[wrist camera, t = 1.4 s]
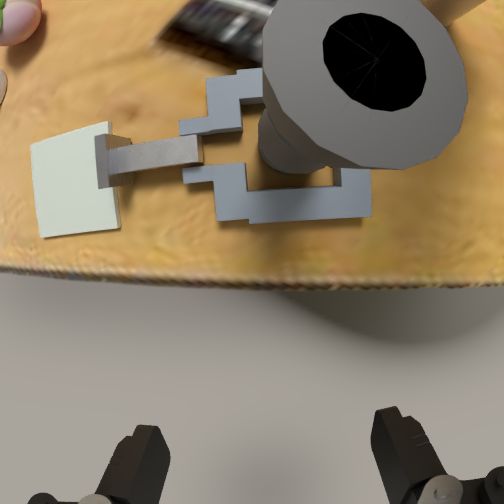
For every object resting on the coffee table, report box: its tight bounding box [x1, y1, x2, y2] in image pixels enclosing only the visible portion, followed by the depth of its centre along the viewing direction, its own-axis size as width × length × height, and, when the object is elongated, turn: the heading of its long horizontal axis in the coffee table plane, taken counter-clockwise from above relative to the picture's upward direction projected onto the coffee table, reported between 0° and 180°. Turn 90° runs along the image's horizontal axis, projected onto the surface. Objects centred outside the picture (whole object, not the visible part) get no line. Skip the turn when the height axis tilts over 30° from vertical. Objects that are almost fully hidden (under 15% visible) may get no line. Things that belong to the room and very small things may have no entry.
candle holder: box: [258, 0, 468, 174], centre depth 18 cm, size 6×6×25 cm
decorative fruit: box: [0, 0, 42, 46], centre depth 21 cm, size 9×8×10 cm
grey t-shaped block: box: [94, 133, 203, 189], centre depth 27 cm, size 5×9×6 cm, turn 95°
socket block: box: [179, 68, 372, 224], centre depth 29 cm, size 15×18×3 cm
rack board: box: [31, 121, 121, 238], centre depth 31 cm, size 12×12×1 cm
